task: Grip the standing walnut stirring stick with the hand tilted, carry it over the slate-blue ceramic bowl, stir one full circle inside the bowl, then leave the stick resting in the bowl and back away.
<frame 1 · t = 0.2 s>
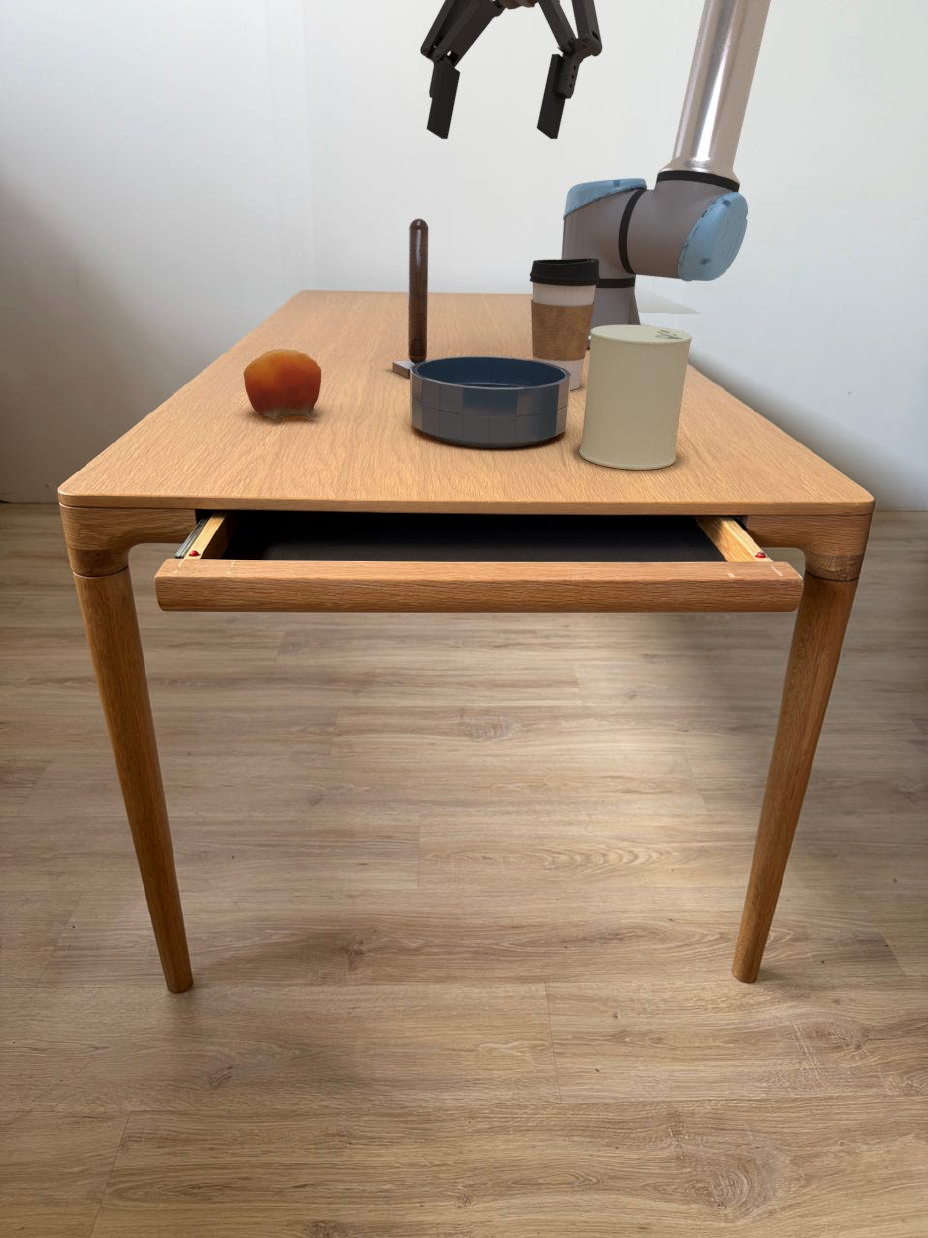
hand: (489, 134, 92), 27 cm above the table, tool tilted 20°, fingers open, 13 cm apart
bowl: (488, 429, 96), on the table
coffee cup: (556, 386, 116), on the table
stick: (417, 373, 120), on the table
fruit: (286, 417, 99), on the table
can: (626, 457, 89), on the table
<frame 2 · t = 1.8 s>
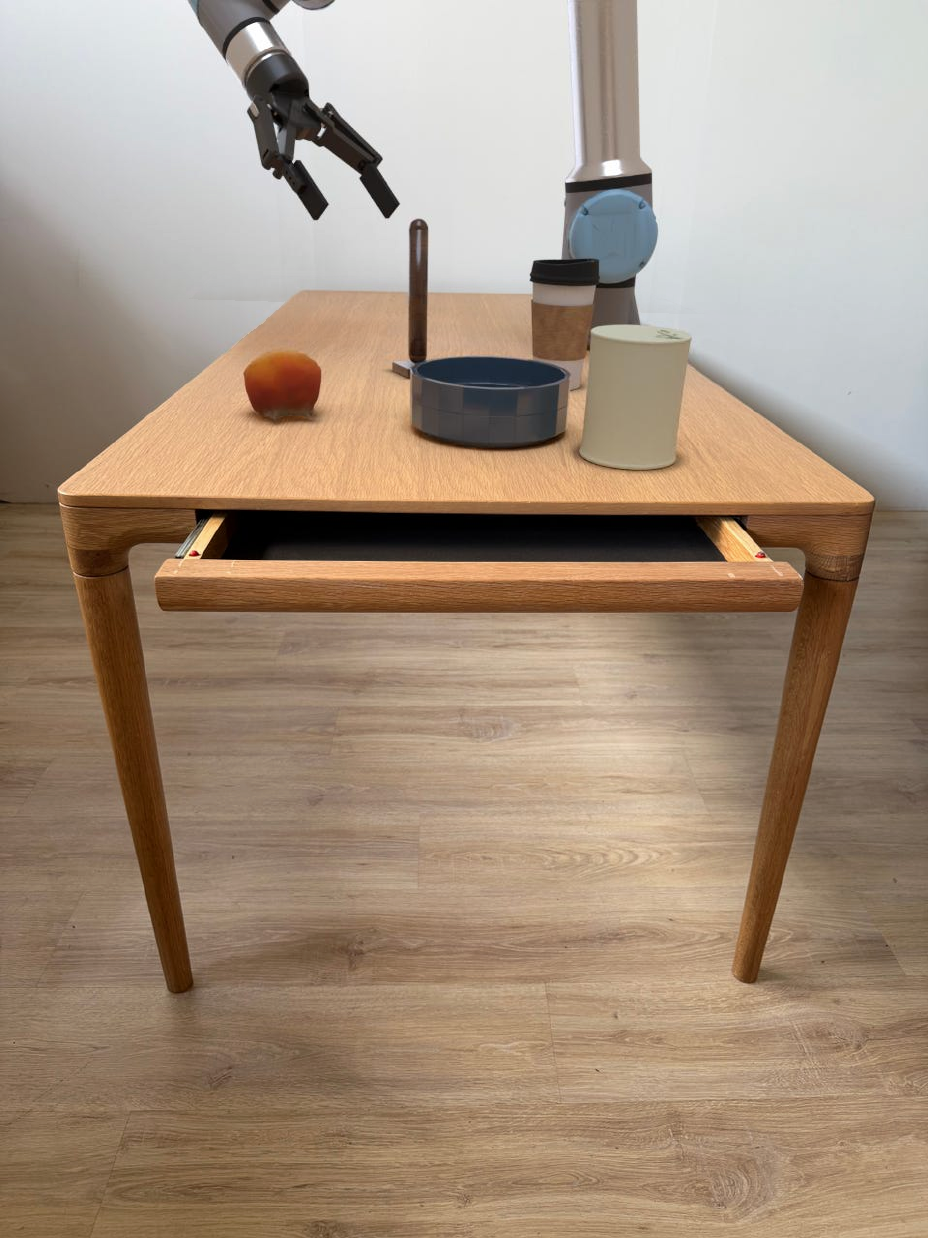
hand: (358, 211, 117), 19 cm above the table, tool tilted 45°, fingers open, 13 cm apart
nothing on the table moved.
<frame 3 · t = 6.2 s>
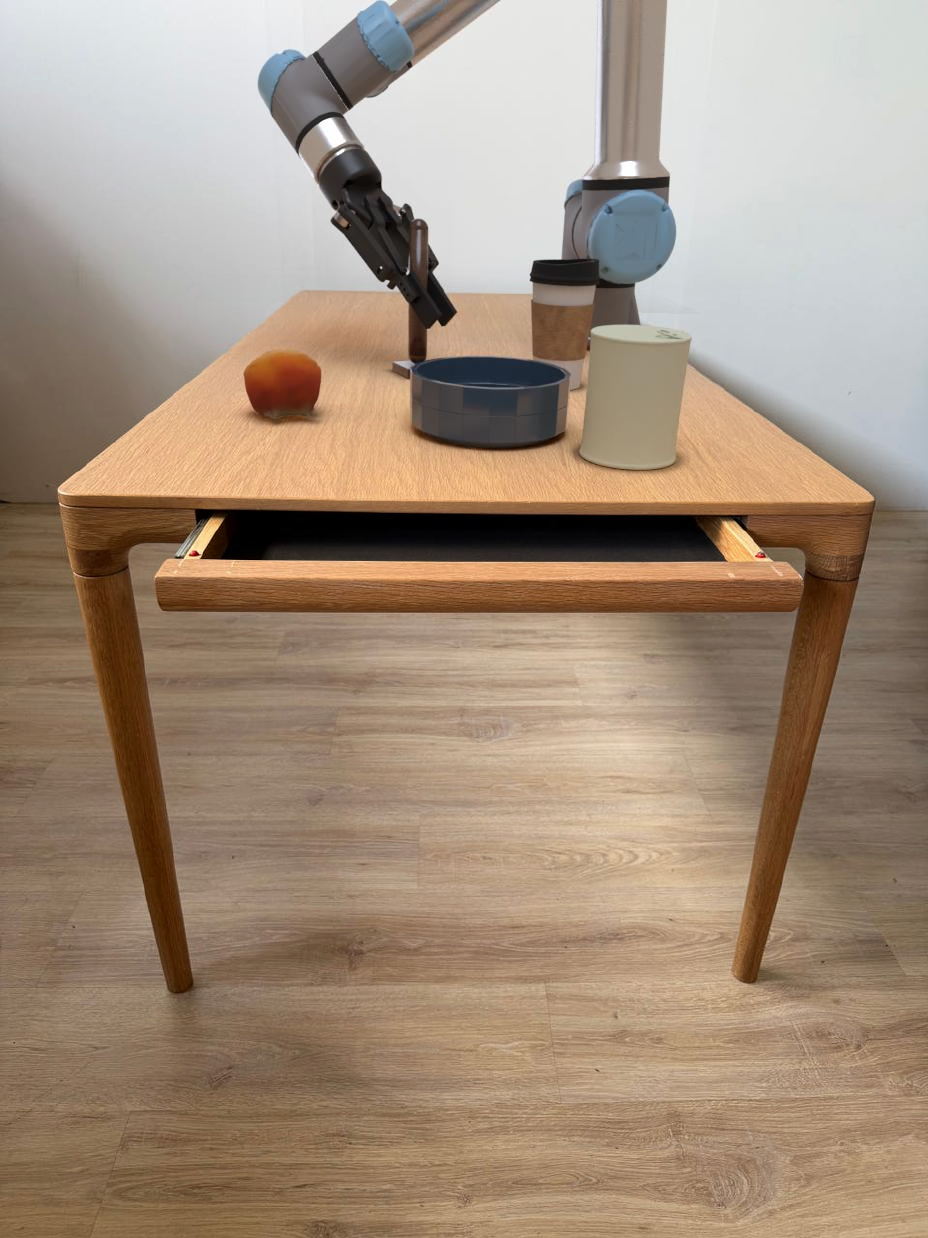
hand: (441, 320, 115), 7 cm above the table, tool tilted 45°, fingers closed on stick, 2 cm apart
stick: (417, 373, 120), on the table, touching gripper
everything else where it was.
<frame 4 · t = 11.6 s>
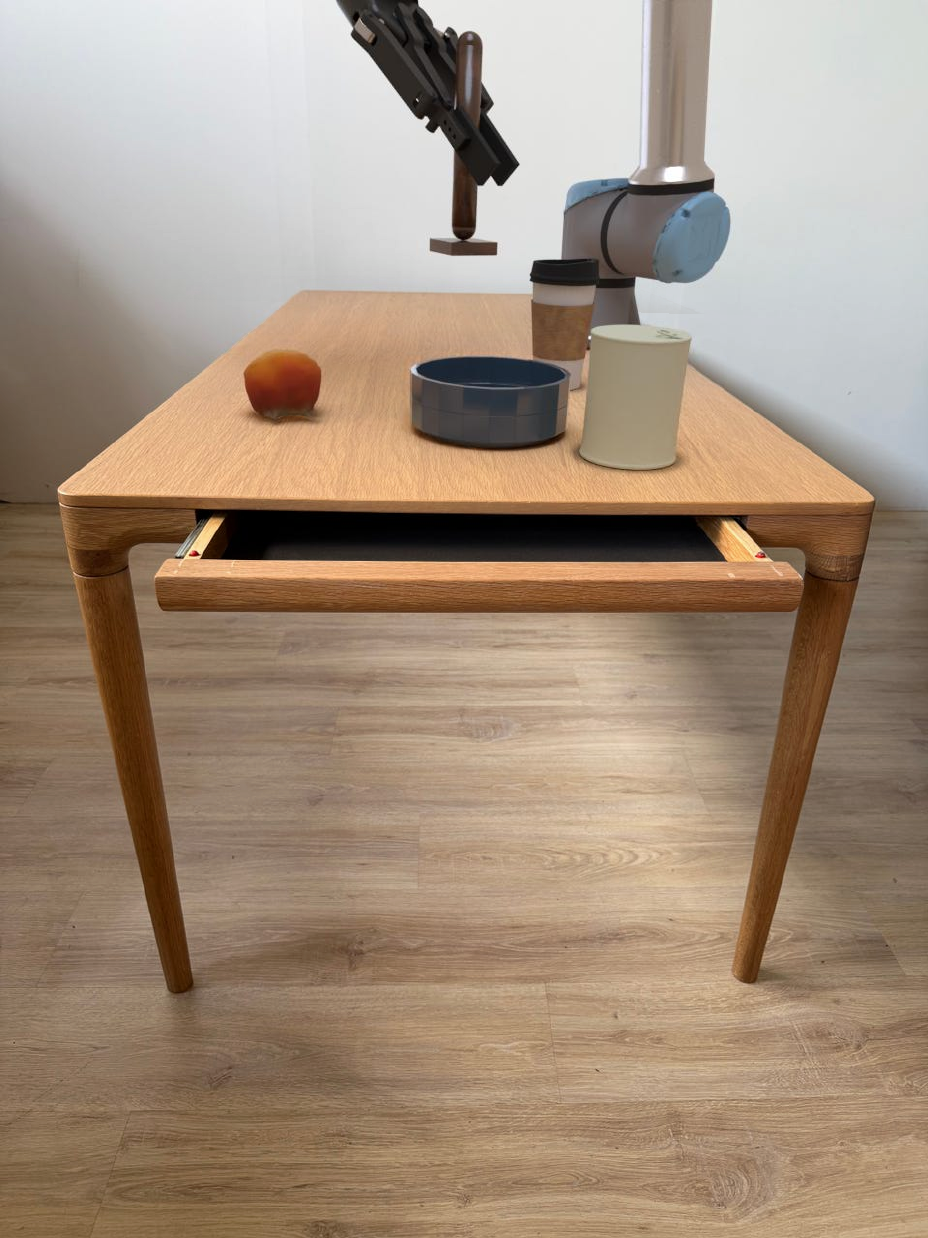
hand: (498, 174, 85), 24 cm above the table, tool tilted 45°, fingers closed on stick, 2 cm apart
stick: (462, 253, 91), point 17 cm above the table, touching gripper
everything else where it was.
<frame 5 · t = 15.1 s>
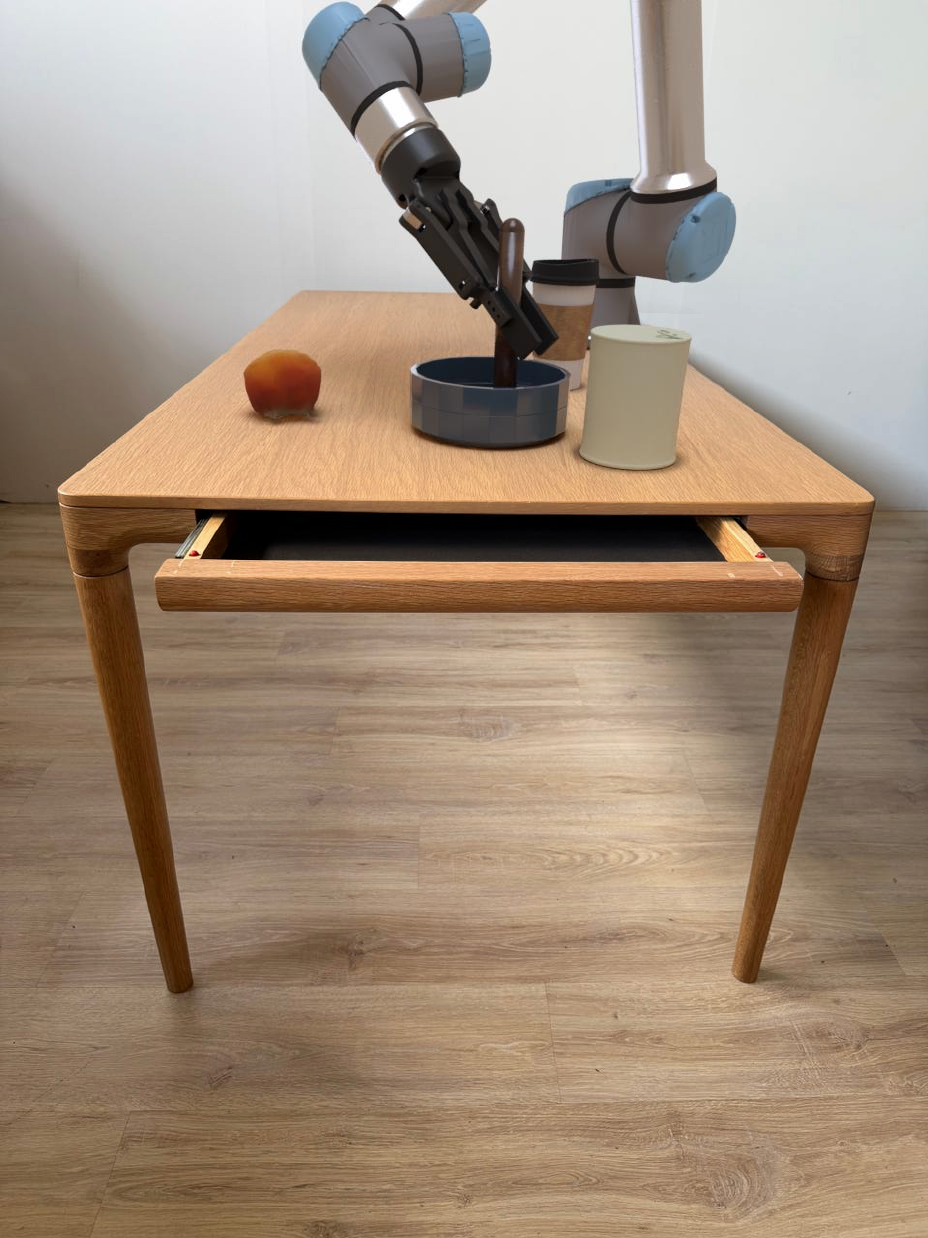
hand: (539, 348, 89), 9 cm above the table, tool tilted 45°, fingers closed on stick, 2 cm apart
stick: (503, 414, 95), point 2 cm above the table, touching gripper
everything else where it was.
when the fingers open (8 cm above the table, at t = 17.3 s): stick stays where it is, resting on bowl.
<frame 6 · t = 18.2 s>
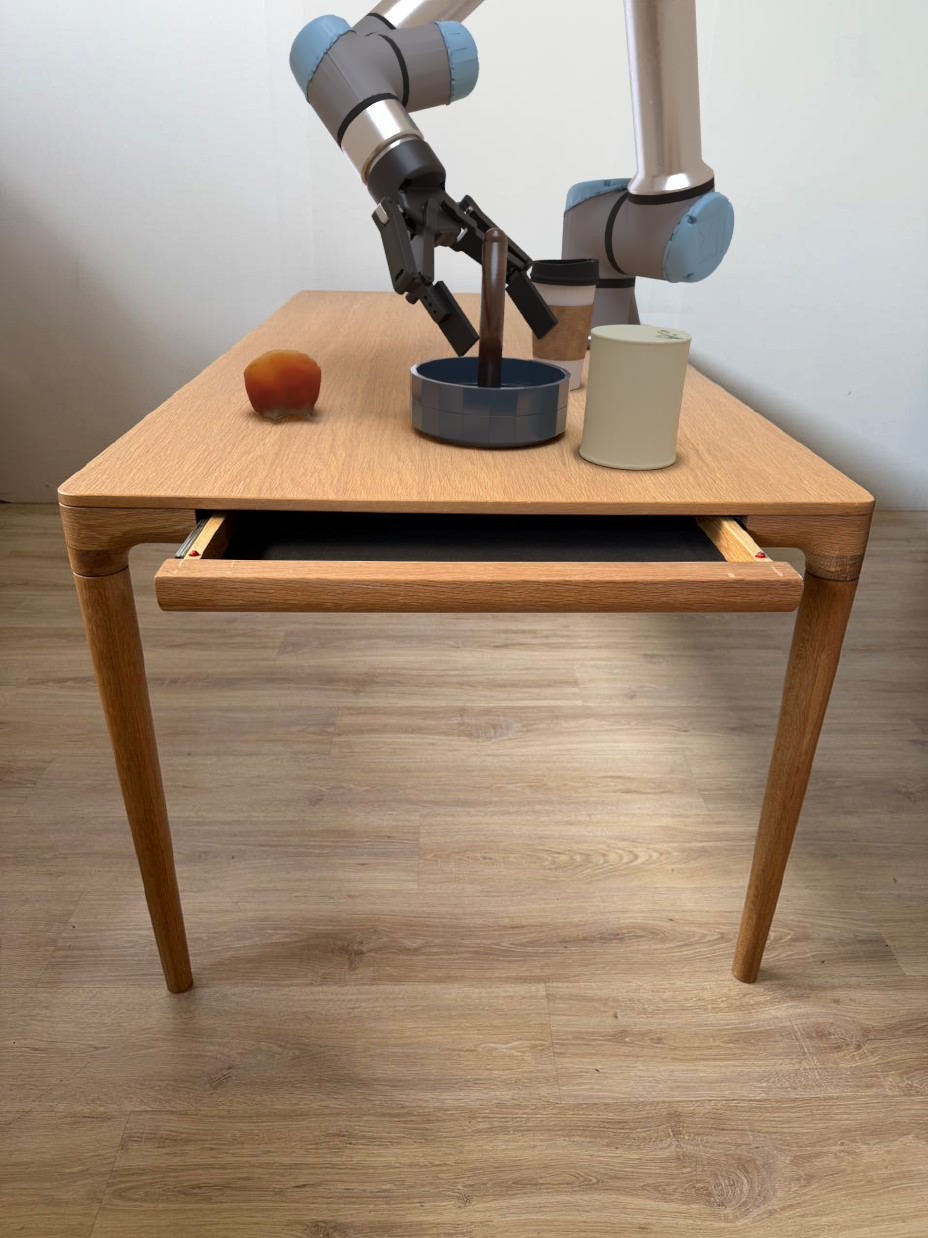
hand: (511, 339, 90), 9 cm above the table, tool tilted 45°, fingers open, 13 cm apart
stick: (487, 421, 96), point 1 cm above the table, touching bowl
everything else where it was.
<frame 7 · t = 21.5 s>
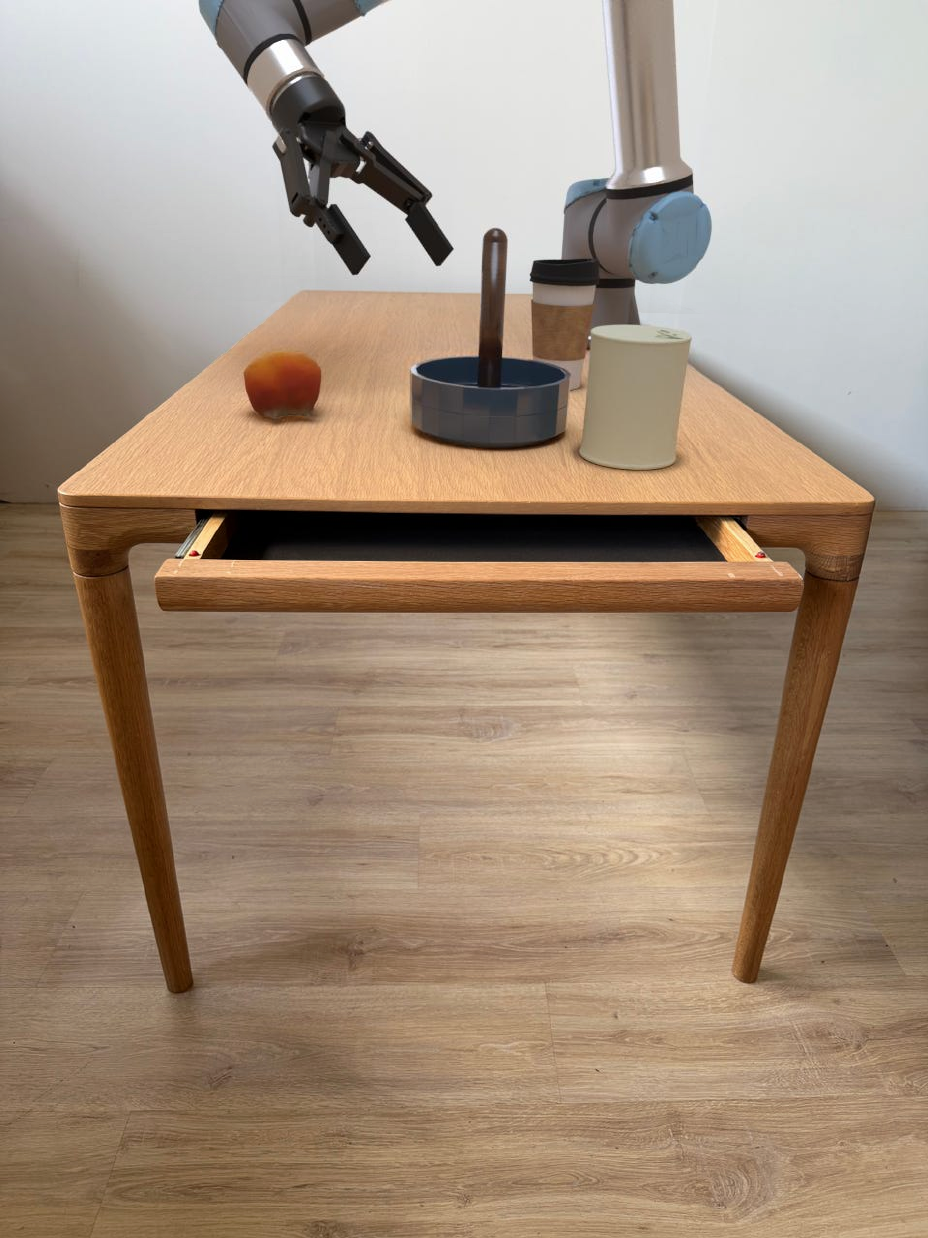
hand: (405, 261, 98), 15 cm above the table, tool tilted 45°, fingers open, 13 cm apart
nothing on the table moved.
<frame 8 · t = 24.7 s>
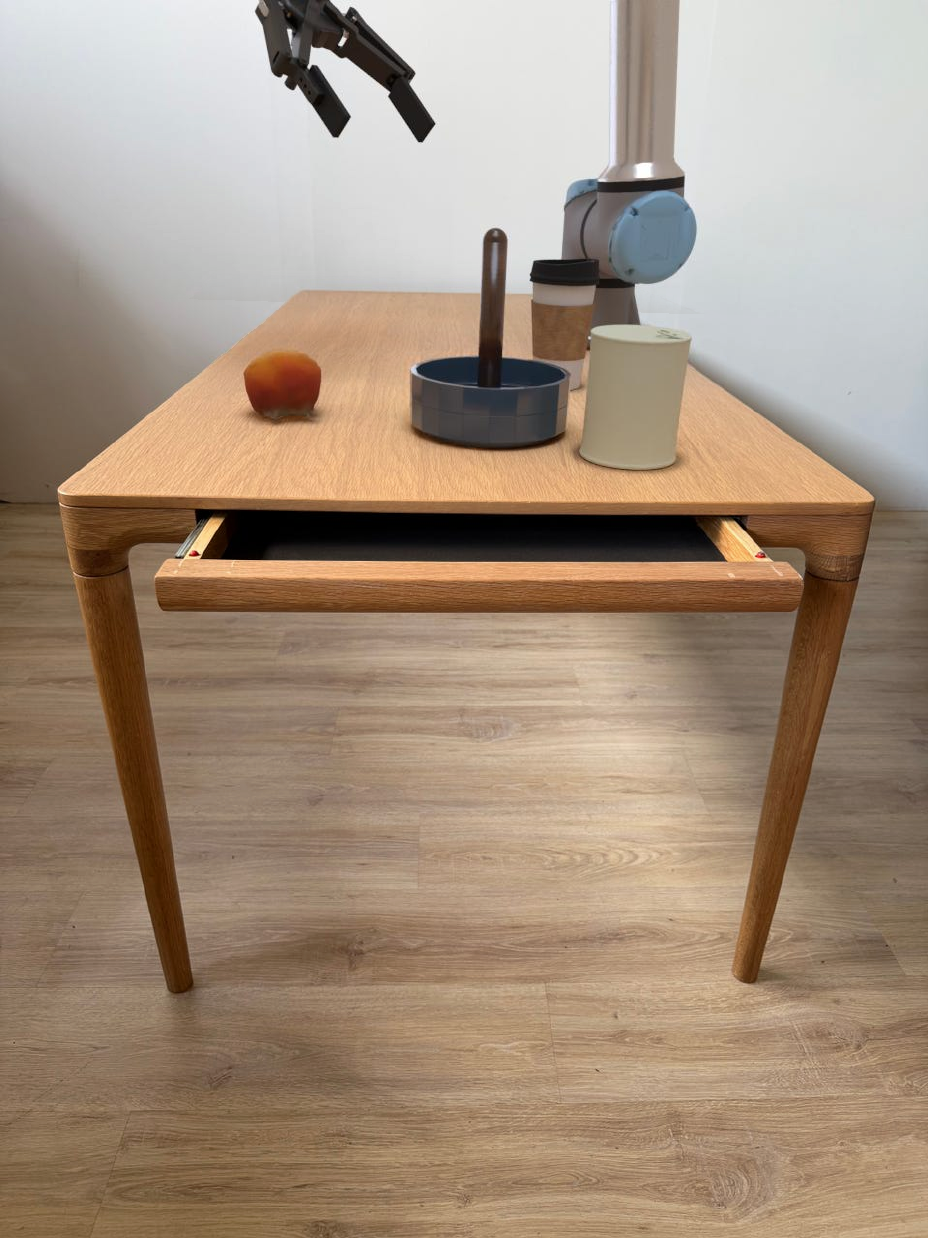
hand: (386, 130, 99), 28 cm above the table, tool tilted 45°, fingers open, 13 cm apart
nothing on the table moved.
at the end: stick inside the target area in the bowl (0.1 cm from its centre), point 0.8 cm above the bowl's base; stick moved 28.4 cm from its start; the gripper is holding nothing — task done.
